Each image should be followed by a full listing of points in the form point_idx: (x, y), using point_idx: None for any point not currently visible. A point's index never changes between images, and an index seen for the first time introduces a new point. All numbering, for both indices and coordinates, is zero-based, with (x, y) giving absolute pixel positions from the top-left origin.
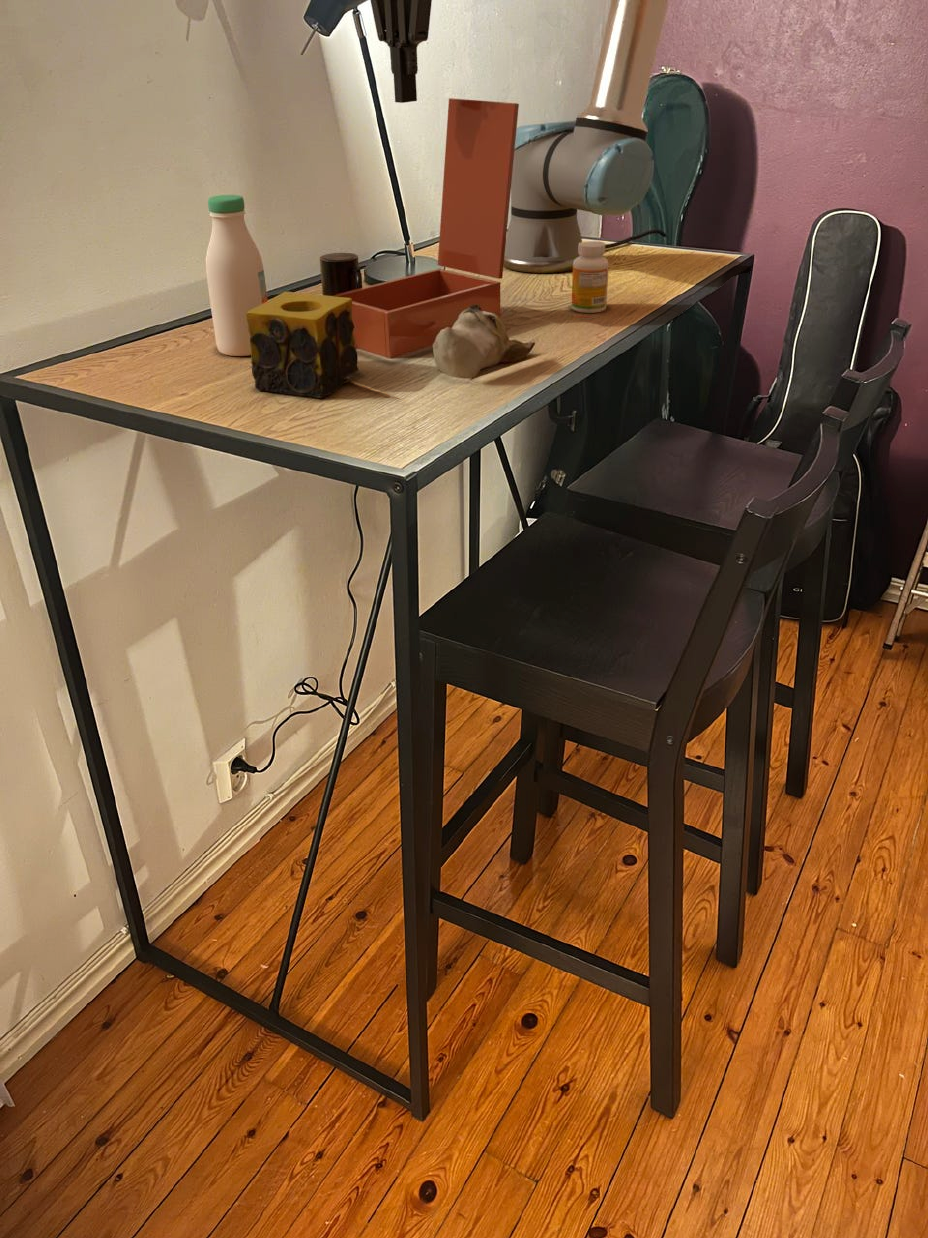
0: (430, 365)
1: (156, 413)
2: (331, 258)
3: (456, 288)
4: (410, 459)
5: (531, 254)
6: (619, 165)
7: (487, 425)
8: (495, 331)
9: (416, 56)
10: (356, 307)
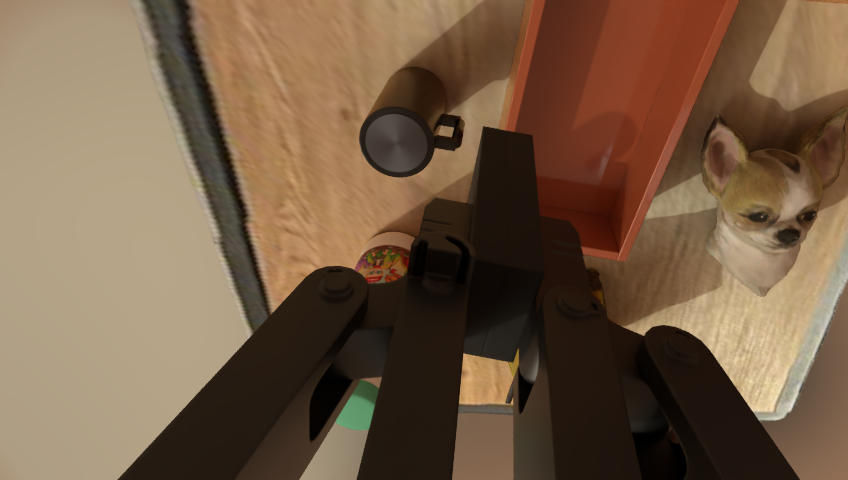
0: (670, 198)
1: (480, 406)
2: (398, 163)
3: None
4: (774, 398)
5: None
6: None
7: (829, 319)
8: (815, 216)
9: (584, 276)
10: None
